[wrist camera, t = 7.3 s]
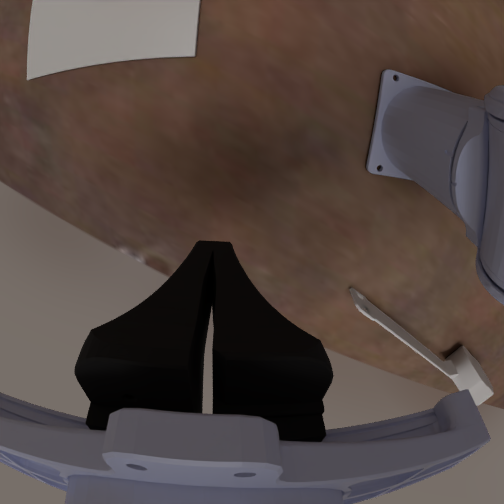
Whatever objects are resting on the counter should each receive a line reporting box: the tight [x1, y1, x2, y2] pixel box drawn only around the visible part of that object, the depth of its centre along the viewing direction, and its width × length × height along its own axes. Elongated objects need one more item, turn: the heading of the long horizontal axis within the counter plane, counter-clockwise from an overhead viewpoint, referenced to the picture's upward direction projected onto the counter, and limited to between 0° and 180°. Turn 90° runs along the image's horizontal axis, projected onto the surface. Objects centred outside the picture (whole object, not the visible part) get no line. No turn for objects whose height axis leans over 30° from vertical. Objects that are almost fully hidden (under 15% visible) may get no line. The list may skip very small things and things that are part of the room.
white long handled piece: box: [349, 287, 493, 406], centre depth 31 cm, size 38×8×4 cm
